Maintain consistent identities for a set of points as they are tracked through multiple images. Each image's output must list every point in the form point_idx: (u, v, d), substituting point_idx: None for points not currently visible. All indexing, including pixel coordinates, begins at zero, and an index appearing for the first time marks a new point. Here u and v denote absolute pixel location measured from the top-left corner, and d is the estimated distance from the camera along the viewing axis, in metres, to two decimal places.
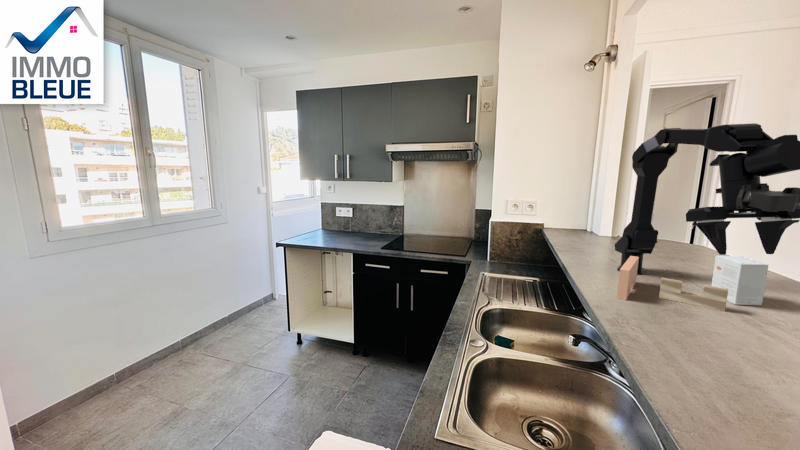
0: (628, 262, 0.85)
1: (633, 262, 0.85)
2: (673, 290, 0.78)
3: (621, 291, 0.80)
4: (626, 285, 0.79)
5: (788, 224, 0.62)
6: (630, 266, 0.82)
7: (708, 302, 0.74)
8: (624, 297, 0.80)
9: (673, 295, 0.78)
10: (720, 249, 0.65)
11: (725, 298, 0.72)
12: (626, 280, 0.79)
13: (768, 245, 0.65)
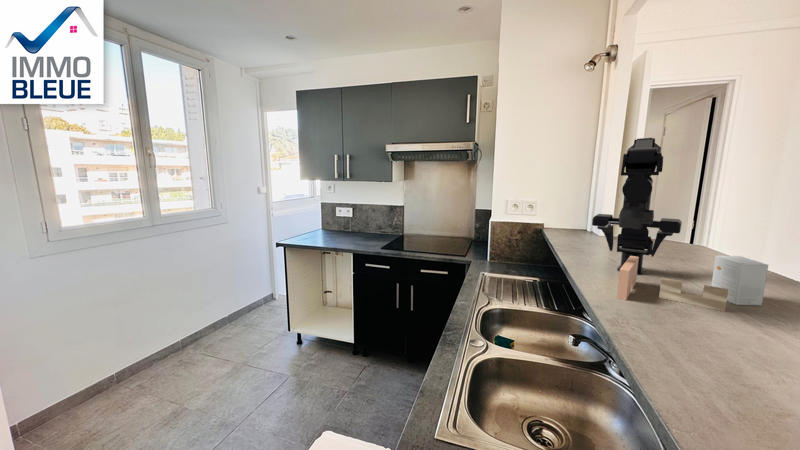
0: (628, 262, 0.85)
1: (633, 262, 0.85)
2: (673, 290, 0.78)
3: (620, 291, 0.80)
4: (626, 285, 0.79)
5: (662, 236, 0.77)
6: (630, 266, 0.82)
7: (708, 302, 0.74)
8: (624, 297, 0.80)
9: (673, 295, 0.78)
10: None
11: (725, 298, 0.72)
12: (626, 280, 0.79)
13: None
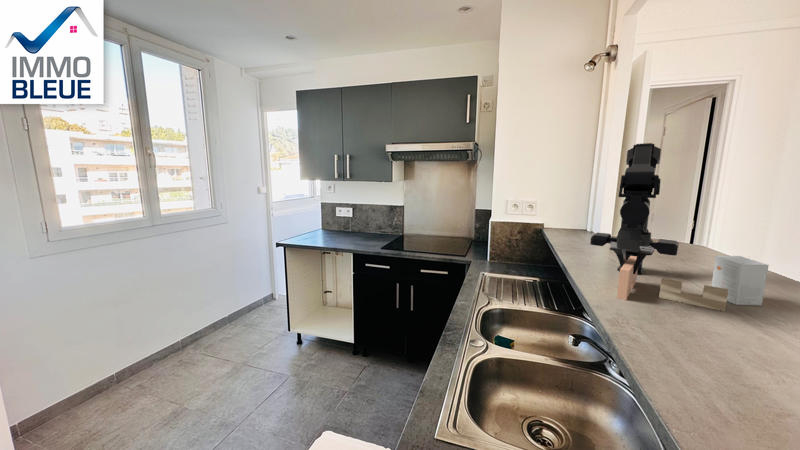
0: (628, 262, 0.85)
1: (633, 262, 0.85)
2: (673, 290, 0.78)
3: (621, 291, 0.80)
4: (626, 285, 0.79)
5: (642, 255, 0.81)
6: (630, 266, 0.82)
7: (708, 302, 0.74)
8: (624, 297, 0.80)
9: (673, 295, 0.78)
10: None
11: (725, 298, 0.72)
12: (626, 280, 0.79)
13: (634, 267, 0.84)
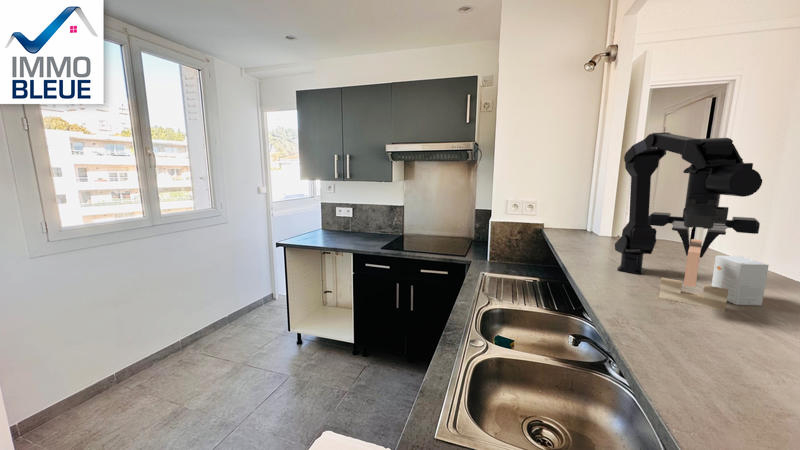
0: (693, 245, 0.75)
1: (699, 245, 0.75)
2: (673, 290, 0.78)
3: (688, 277, 0.70)
4: (696, 270, 0.69)
5: (714, 235, 0.71)
6: (698, 248, 0.72)
7: (708, 302, 0.74)
8: (693, 283, 0.70)
9: (673, 295, 0.78)
10: None
11: (725, 298, 0.72)
12: (696, 264, 0.69)
13: None
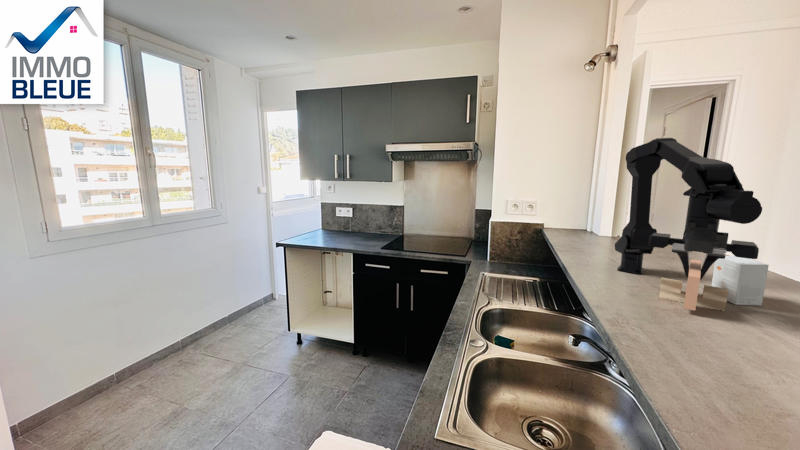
0: (693, 267, 0.76)
1: (699, 267, 0.76)
2: (673, 290, 0.78)
3: (688, 301, 0.71)
4: (696, 294, 0.70)
5: (713, 258, 0.71)
6: (698, 272, 0.72)
7: (708, 302, 0.74)
8: (693, 307, 0.71)
9: (673, 295, 0.78)
10: None
11: (725, 298, 0.72)
12: (696, 288, 0.70)
13: None
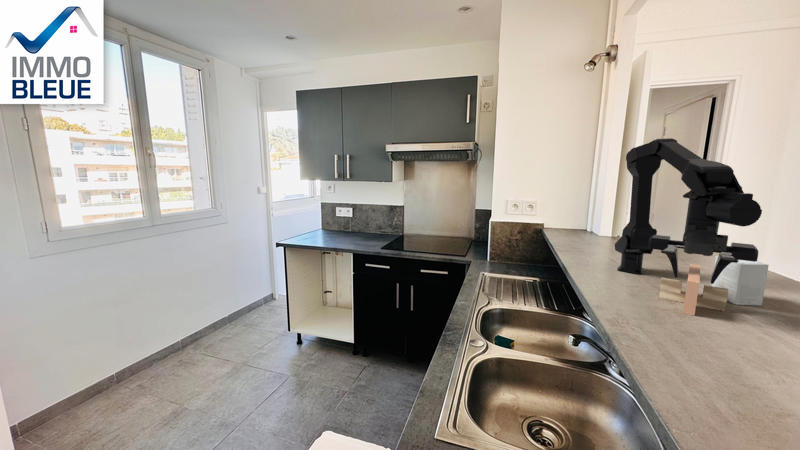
0: (692, 272, 0.76)
1: (698, 272, 0.76)
2: (673, 290, 0.78)
3: (688, 306, 0.71)
4: (695, 299, 0.70)
5: (726, 262, 0.70)
6: (697, 277, 0.73)
7: (708, 302, 0.74)
8: (692, 312, 0.71)
9: (673, 295, 0.78)
10: None
11: (725, 298, 0.72)
12: (695, 293, 0.70)
13: (712, 276, 0.74)
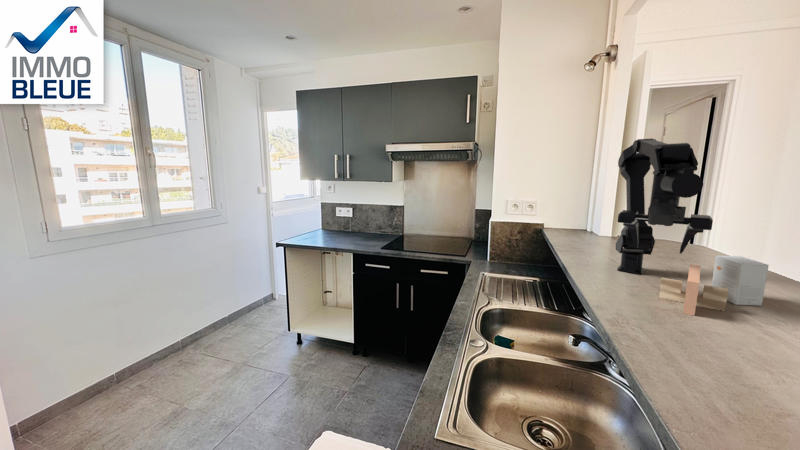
0: (692, 272, 0.76)
1: (698, 272, 0.76)
2: (673, 290, 0.78)
3: (688, 306, 0.71)
4: (695, 299, 0.70)
5: (692, 233, 0.76)
6: (697, 277, 0.73)
7: (708, 302, 0.74)
8: (692, 312, 0.71)
9: (673, 295, 0.78)
10: (635, 243, 0.86)
11: (725, 298, 0.72)
12: (695, 293, 0.70)
13: None
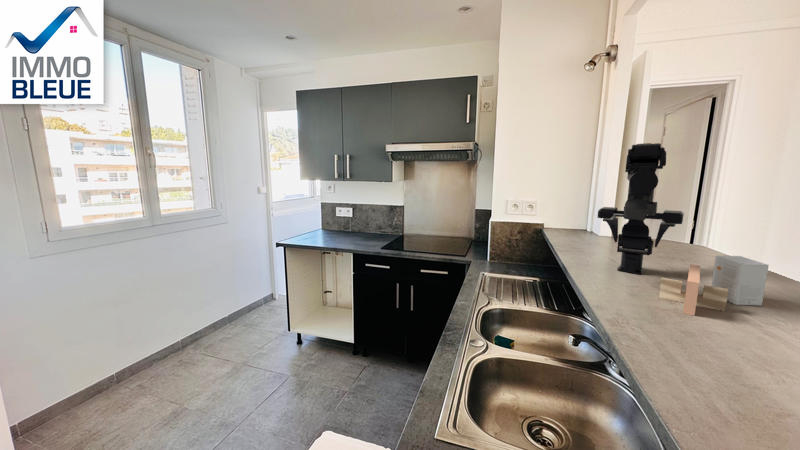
0: (692, 272, 0.76)
1: (698, 272, 0.76)
2: (673, 290, 0.78)
3: (688, 306, 0.71)
4: (695, 299, 0.70)
5: (665, 227, 0.81)
6: (697, 277, 0.73)
7: (708, 302, 0.74)
8: (692, 312, 0.71)
9: (673, 295, 0.78)
10: None
11: (725, 298, 0.72)
12: (695, 293, 0.70)
13: None
